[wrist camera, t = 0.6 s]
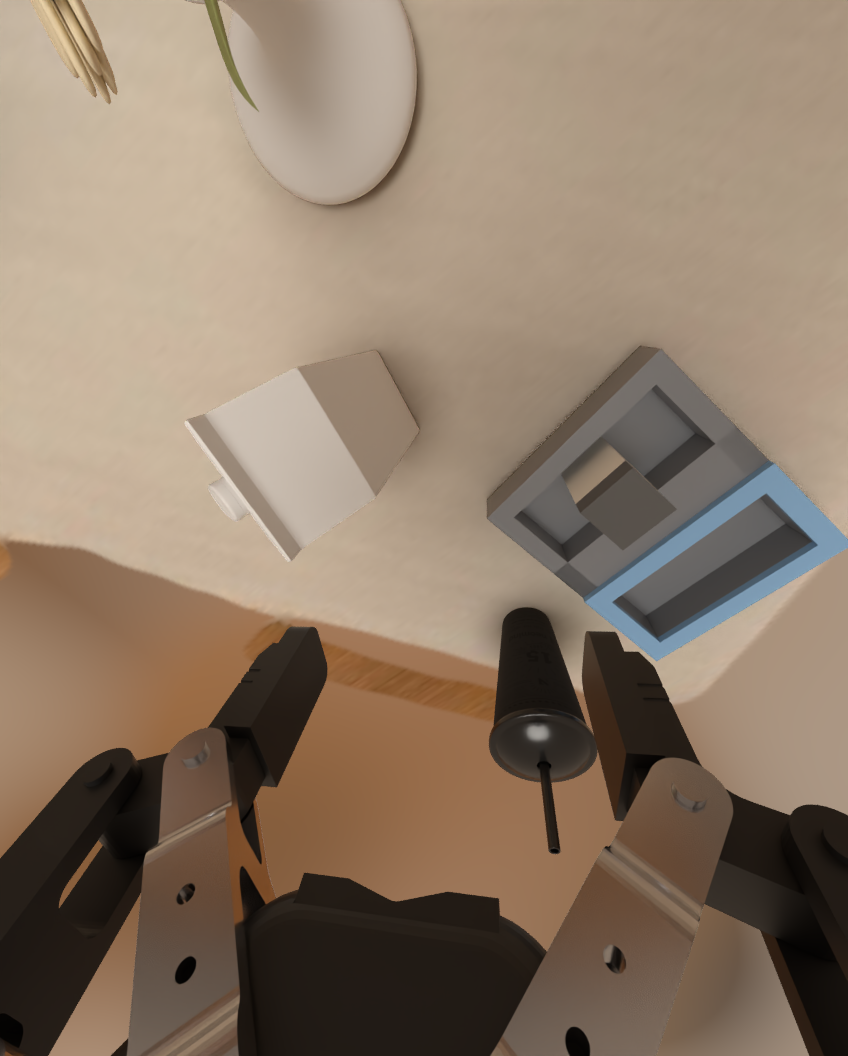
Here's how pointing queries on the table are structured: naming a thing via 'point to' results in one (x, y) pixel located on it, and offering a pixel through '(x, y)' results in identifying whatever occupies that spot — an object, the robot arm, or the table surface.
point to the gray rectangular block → (614, 494)
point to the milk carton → (307, 447)
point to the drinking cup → (538, 712)
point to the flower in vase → (293, 84)
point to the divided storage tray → (685, 535)
